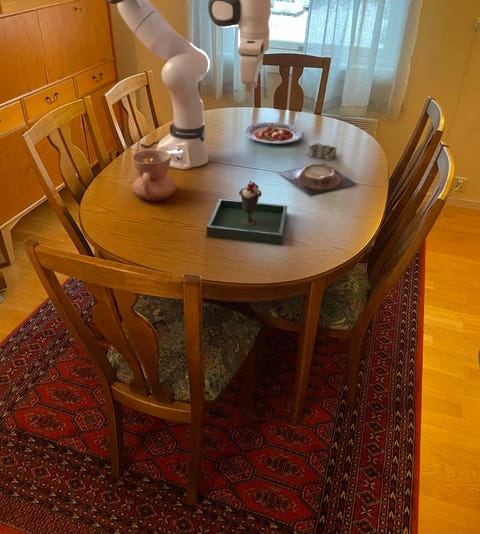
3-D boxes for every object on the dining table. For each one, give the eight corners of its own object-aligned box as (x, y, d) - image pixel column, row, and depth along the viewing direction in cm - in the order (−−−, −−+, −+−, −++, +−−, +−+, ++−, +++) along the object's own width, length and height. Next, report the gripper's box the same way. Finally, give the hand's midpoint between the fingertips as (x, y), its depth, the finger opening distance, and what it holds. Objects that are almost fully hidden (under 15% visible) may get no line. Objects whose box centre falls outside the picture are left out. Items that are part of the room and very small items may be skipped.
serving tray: (206, 236, 134) (206, 226, 132) (219, 207, 148) (219, 198, 146) (281, 245, 131) (281, 235, 129) (286, 214, 145) (287, 205, 143)
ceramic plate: (264, 123, 215) (265, 116, 214) (312, 135, 204) (313, 129, 202) (232, 138, 198) (232, 131, 197) (282, 152, 187) (283, 145, 185)
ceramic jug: (142, 182, 161) (137, 144, 153) (182, 186, 160) (179, 147, 151) (124, 206, 147) (119, 165, 138) (168, 210, 145) (165, 169, 137)
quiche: (324, 164, 178) (326, 154, 176) (357, 185, 164) (359, 174, 162) (279, 173, 171) (280, 163, 168) (309, 196, 156) (310, 185, 154)
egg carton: (306, 155, 185) (307, 146, 183) (313, 149, 190) (314, 140, 188) (330, 161, 181) (332, 151, 178) (337, 155, 186) (339, 145, 184)
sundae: (244, 230, 136) (246, 184, 127) (234, 219, 140) (235, 175, 131) (263, 225, 138) (266, 180, 129) (253, 215, 143) (255, 171, 134)
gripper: (248, 35, 140) (246, 82, 148) (236, 48, 124) (235, 100, 132) (268, 37, 139) (265, 84, 147) (259, 50, 123) (257, 102, 131)
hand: (251, 91), depth 140 cm, fingers open, 8 cm apart
